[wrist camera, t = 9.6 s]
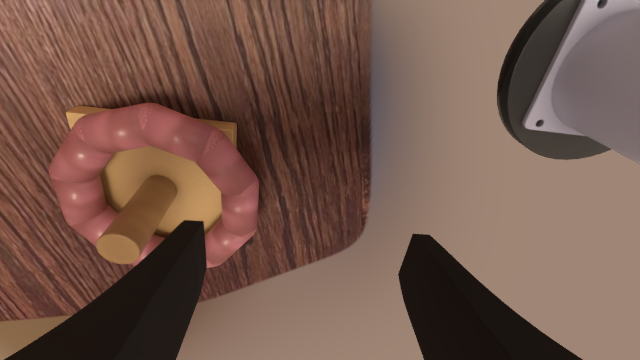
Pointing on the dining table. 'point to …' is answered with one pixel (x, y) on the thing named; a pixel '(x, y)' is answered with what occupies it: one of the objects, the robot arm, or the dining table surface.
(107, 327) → the robot arm
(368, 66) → the dining table surface
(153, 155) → the stand
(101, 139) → the ring
